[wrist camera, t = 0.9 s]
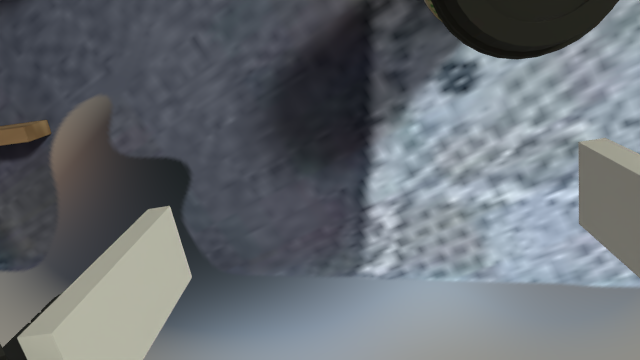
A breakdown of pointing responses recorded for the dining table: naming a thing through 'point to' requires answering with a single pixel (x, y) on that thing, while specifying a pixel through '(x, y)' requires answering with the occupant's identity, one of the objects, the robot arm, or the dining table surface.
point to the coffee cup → (519, 24)
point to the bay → (23, 132)
